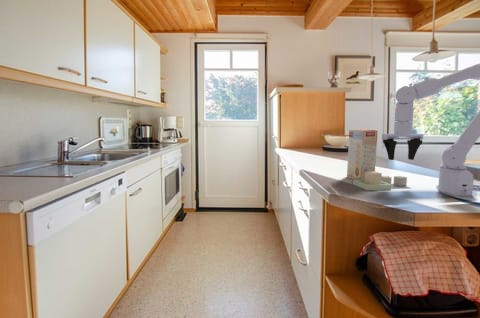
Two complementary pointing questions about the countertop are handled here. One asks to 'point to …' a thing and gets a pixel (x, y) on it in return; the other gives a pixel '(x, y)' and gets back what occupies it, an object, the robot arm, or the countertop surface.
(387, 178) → the grey pebble
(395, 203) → the countertop surface
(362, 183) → the sage tray
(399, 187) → the slate board
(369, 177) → the sandstone block
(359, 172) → the cracker box
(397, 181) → the grey pebble
